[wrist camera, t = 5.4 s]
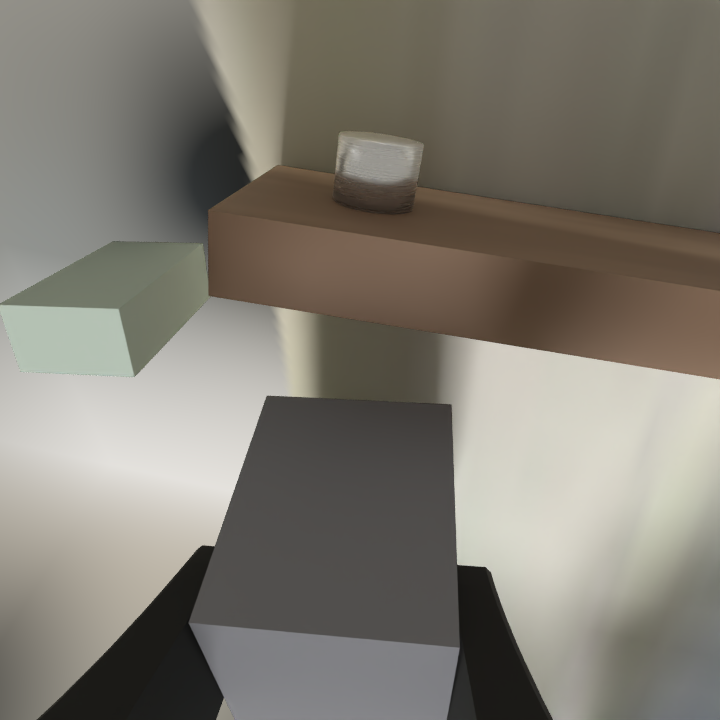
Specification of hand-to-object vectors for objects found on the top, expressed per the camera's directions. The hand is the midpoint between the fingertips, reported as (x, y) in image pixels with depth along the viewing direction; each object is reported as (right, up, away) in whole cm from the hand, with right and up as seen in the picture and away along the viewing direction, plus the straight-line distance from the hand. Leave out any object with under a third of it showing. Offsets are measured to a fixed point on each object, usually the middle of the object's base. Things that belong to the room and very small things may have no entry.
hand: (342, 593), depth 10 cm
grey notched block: (0, 0, +4) cm, 4 cm away
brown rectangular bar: (+5, +8, +3) cm, 10 cm away
